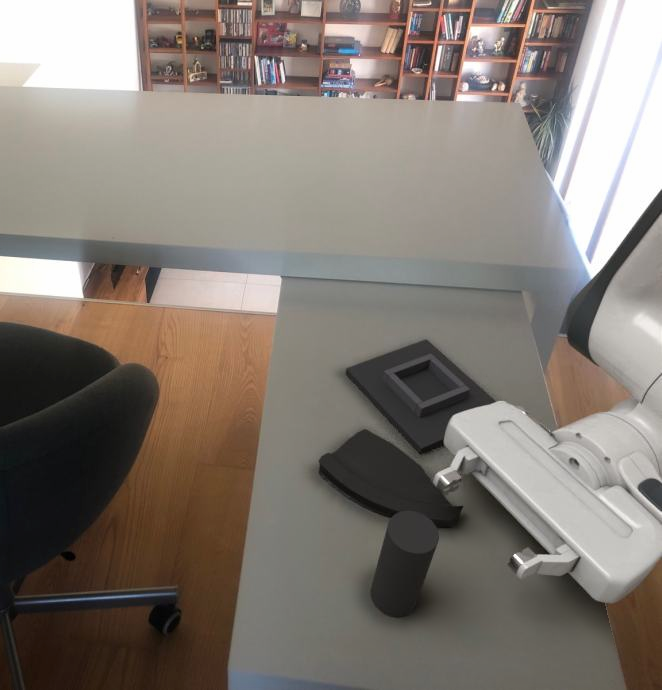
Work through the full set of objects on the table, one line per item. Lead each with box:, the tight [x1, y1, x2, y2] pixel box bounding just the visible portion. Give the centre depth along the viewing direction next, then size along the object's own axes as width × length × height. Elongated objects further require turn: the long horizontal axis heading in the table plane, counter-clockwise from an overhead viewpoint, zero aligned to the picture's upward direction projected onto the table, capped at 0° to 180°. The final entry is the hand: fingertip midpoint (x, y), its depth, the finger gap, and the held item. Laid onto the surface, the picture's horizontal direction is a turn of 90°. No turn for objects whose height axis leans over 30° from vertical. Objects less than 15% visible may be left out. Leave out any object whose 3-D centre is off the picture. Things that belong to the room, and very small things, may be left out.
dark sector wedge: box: [318, 428, 465, 528], centre depth 70 cm, size 8×14×2 cm, turn 41°
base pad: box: [345, 339, 497, 455], centre depth 80 cm, size 14×12×2 cm
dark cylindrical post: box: [370, 511, 440, 618], centre depth 59 cm, size 4×4×10 cm
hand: (475, 524), depth 60 cm, fingers open, 8 cm apart
